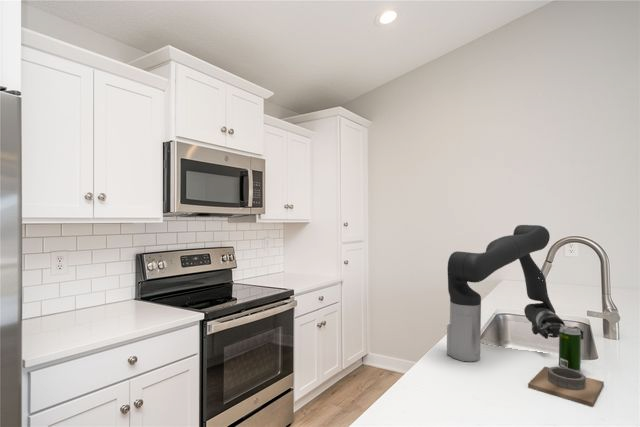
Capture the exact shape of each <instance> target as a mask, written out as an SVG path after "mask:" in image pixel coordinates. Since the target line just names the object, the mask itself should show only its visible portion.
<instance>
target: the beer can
mask: <svg viewBox="0 0 640 427" xmlns="http://www.w3.org/2000/svg"><path fill="white" fill-rule="evenodd" d="M574 327H575V326H570V325H565V326H561V327H560V330H559V337H558V367H564V368H569V369H573V370H576V371H578V372H580V370H581V365H582V364H581V359H582V358H581V356H582V354H581V352H582V349H581V348H582V346H581V345H582V339H581V333H580V329H581V328H580V329H578V328H579V327H578V328H574Z"/></svg>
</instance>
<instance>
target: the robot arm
mask: <svg viewBox="0 0 640 427" xmlns="http://www.w3.org/2000/svg"><path fill="white" fill-rule="evenodd" d="M550 238H551V237H550V232H549V230H548V229H547V228H546V227H545V226H543V225H535V224H534V225H533V224H532V225H531V224H518V225H517V226H515V228H514V230H513V234H512V235H505V236H501V237H497V238H496V239H494V240H492V241H490V242H489V243H488V244H487V246H486V248H485V251H484V252H470V251H469V252H467V251H454V252H452V253H451V254H450V256H449V258H448V261H447V268H446V269H447V290H448V294H449V324H447V326H446V355H447V356H450V357H452V358H453V359H455V360H458V361H463V362H477V361H480V359H481V330H482V323H481V322H482V319H481V318H482V296H481V295H480V293H479V292H477V291H476V290H474V289H472V288H471V287H470V285H469V284H468V283H480V282H482V281H484V280H486V279H487V278H488V277H489V276H491V275H492V274H493V273H495V272H496V271H498V270H499V269H502V268H504V267H505V266H507V265H510V264H512V263H514V262H515V261H517V260H519V262H520V266H521V269H522V271H523V272H522V273H523V276H524V283H525V288H526V294H527V298H528V299H529V300H532V301H534V302H535V301H536V302H537V303H536V302H535V303H529V304H527V305H525V307H524V310H523V312H524V316H525V318H526V319H527V320H528V322H530V323H531V331H532V333H533V335H540V336H541V337H542V338H544V339H547V340H548V339H549V338H559V330H560V327H561V326H566V324H565V321H564V320H563V319H561V318H560V316H558V315H557V314H556V310H555V308H554V306H553V303H551V300H550V298H549V294H548V287H547V281H546V277H545V275H544V273H543V272H542V270H541V269H540V268H539V266H538V265H537V264H536V262H535V261H534V259H533V258H532V256H531V253H535V252H538V251H542V250H543V249H545V248H546V247H547V245H548V244H549V241H550ZM540 272H541V273H540ZM538 277H539V278H540V279H538ZM542 280H543V281H542ZM573 327H574V328H578V329H580V333H581V340H584V333H585V332H584V331H583V329H581V328H580V327H579V326H573Z"/></svg>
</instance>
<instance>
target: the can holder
mask: <svg viewBox="0 0 640 427" xmlns="http://www.w3.org/2000/svg"><path fill="white" fill-rule="evenodd" d="M604 384H605V383H604V381H601V380H599V379H594V378H592V377H591V378H590V377H586V375H584V373H582V372H580V371H579V372H578V371H576V370H573V369H569V368H564V367H559V366H552V367H548V366H544V367H543V368H542V369H540V371H538V372H537V374H536V375H535V376H534V377H533V378H532V379H531V380H530V381H529V382H528V383H527V387H528V388H529V389H533V390H536V391H538V392H542V393H546V394H548V395H549V394H550V395H552V396H556V397H559V398H563V399H566V400H568V401H573V402H575V403H579V404H583V405H587V406H588V407H592V408H593V407H594V406H595V403H596V401H597V399H598V397H599V396H600V393H601V391H602V389H603V387H604Z"/></svg>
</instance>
